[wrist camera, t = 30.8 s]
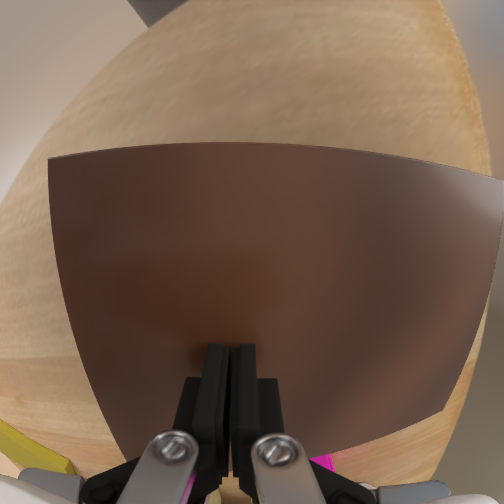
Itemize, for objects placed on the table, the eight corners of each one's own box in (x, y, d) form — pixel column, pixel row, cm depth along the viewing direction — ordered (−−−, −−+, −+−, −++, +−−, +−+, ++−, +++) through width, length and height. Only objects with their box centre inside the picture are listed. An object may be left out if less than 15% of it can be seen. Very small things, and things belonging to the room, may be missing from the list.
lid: (133, 461, 12) (132, 471, 11) (57, 158, 8) (47, 158, 7) (437, 404, 15) (442, 410, 15) (495, 179, 11) (506, 181, 10)
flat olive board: (69, 459, 27) (-33, 394, 25) (64, 469, 25) (-39, 400, 23) (82, 488, 31) (-13, 432, 29) (79, 496, 28) (-17, 438, 26)
